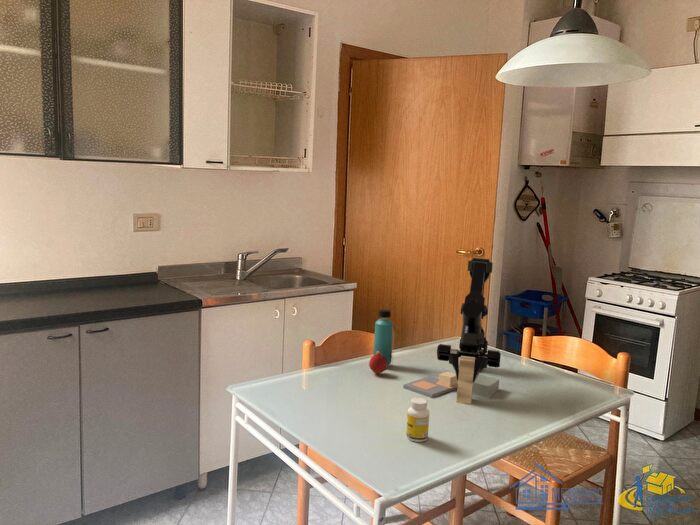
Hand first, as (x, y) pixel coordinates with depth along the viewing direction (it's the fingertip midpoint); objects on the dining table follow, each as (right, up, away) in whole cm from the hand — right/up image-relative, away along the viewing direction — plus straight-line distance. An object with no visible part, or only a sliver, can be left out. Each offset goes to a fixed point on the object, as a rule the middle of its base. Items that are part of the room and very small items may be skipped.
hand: (465, 380), depth 172 cm
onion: (-25, -3, +22) cm, 33 cm away
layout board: (-9, -5, +12) cm, 15 cm away
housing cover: (+8, -6, +11) cm, 15 cm away
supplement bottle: (-17, -9, -25) cm, 32 cm away
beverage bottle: (-23, -2, +31) cm, 39 cm away
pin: (0, -6, +2) cm, 7 cm away
